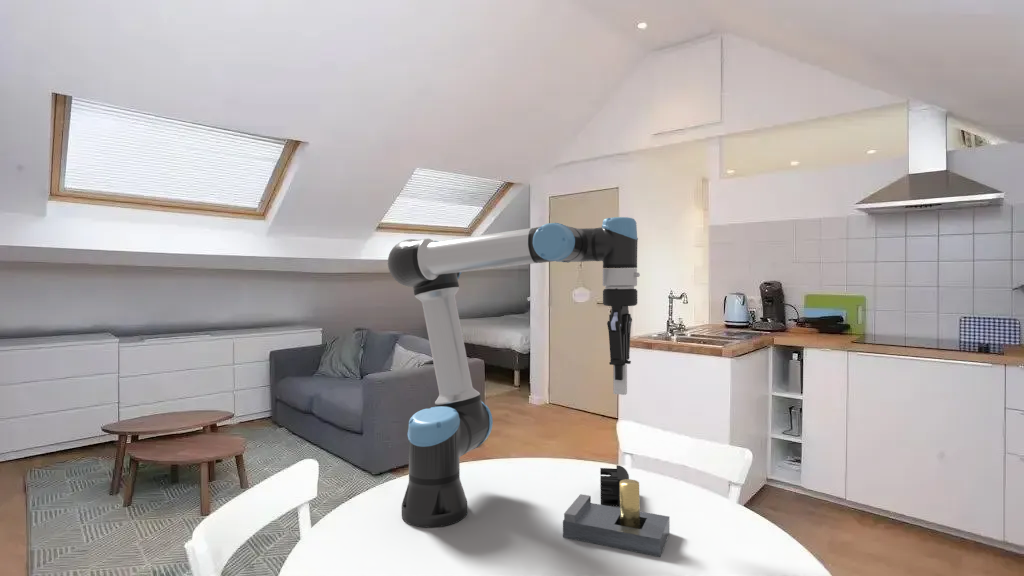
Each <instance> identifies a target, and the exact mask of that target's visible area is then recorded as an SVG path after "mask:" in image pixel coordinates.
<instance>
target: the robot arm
mask: <svg viewBox="0 0 1024 576" xmlns="http://www.w3.org/2000/svg"><path fill="white" fill-rule="evenodd" d="M637 226H638V225H637V222H636V220H635V219H634V218H633V217H628V216H627V217H626V216H625V217H624V216H617V217H607V218H604V219H603V220H602V224H601V226H600V227H595V228H592V227H591V228H577V227H572V226H568V225H564V224H563V223H560V222H551V223H550V222H549V223H545V224H543V225H541V226H537V227H529V228H523V229H517V230H509V231H502V232H493V233H488V234H487V233H486V234H482V235H481V234H480V235H475V236H467V237H460V238H453V239H446V240H433V239H431V238H422V239H416V238H415V239H411V238H410V239H403V240H401V241H400V242H398V243H397V244H395V245H394V246H393V247H392V249H391V251H390V252H389V254H388V258H387V267H388V268H387V269H388V271H389V273H390V275H391V277H392V278H393V279H394V281H396V282H397V283H398V284H401V286H402V285H403V286H405V287H410V288H411V287H412V289H413V294H414V298H416V299H417V300H418V301H420V302H421V304H422V305H421V306H422V308H423V309H422V310H423V316H424V321H425V324H426V331H427V335H428V340H429V341H428V342H429V346H430V351H431V356H432V363H433V367H434V373H435V377H436V382H437V383H436V384H437V388H438V393H439V394H438V397H437V399H436V400H435V401H434V405H435V406H432V407H430V408H423V409H421V410H418V411H417V412H415V413H414V414H413V415H412V416H411V417H410V418H409V420H408V428H407V440H408V441H407V442H408V446H407V447H408V449H407V450H408V483H407V487H406V490H405V493H404V497H403V500H402V503H401V518H402V520H403V521H404V523H405V522H406V523H407V524H409V525H412V526H415V527H421V528H440V527H444V526H445V527H446V526H449V525H452V524H454V523H457V522H459V521H461V520H463V519H464V518H465V517H466V516H467V514H468V499H467V496H466V493H465V491H464V487H463V485H462V481H461V477H460V476H461V474H460V472H461V471H460V467H461V466H460V457H462V456H463V455H465V454H467V453H469V452H471V451H473V450H474V449H476V448H478V447H480V446H481V445H482V444H483V443H484V442H485V441H486V440H487V439H488V438H489V437H490V434H491V433H492V429H493V425H494V423H493V414H492V412H491V410H490V408H489V406H488V405H486V404H485V403H484V402H483V401H482V398H481V393H480V392H479V391H478V390H476V389H475V388H474V387H473V382H472V376H471V372H470V368H469V363H468V362H469V361H468V358H467V357H468V356H467V350H466V346H465V342H464V337H463V330H462V327H461V326H462V325H461V321H460V316H459V311H458V305H457V300H456V294H457V293H458V292H459V290H460V284H459V279H460V276H461V274H462V273H463V272H473V271H474V272H475V271H483V270H491V269H499V268H506V267H507V268H508V267H514V266H523V265H532V264H542V263H551V262H559V263H560V262H561V263H571V262H572V263H576V262H577V263H578V262H579V263H580V262H602V286H603V287H605V288H604V289H603V290H602V305H603V306H608V307H611V310H610V311H611V312H610V314H609V316H608V318H609V319H608V320H607V323H606V325H607V329H608V338H609V339H608V340H609V341H608V342H609V356H610V357H609V358H610V360H609V361H610V362H609V365H611V366H613V368H612V369H613V372H612V373H613V375H612V378H613V381H612V382H613V393H612V394H613V395H622V396H625V395H627V394H628V365H631V363H632V361H631V360H630V357H631V356H630V351H631V349H630V348H631V332H632V331H631V329H632V322H633V319H632V315H631V313H630V312H629V307H634V306H637V305H638V290H637V288H635V287H637V286H638V278H639V277H640V276H641V275H640V272H638V240H639V237H638V229H637V228H638V227H637Z"/></svg>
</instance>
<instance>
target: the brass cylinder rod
mask: <svg viewBox="0 0 1024 576" xmlns="http://www.w3.org/2000/svg"><path fill="white" fill-rule="evenodd" d="M640 501H641V500H640V482H639V481H638V480H635V479H631V478H629V479H625V480H621V481H620V506H619V508H620V523H621V526H626V527H631V528H637V529H640V512H641V510H640V509H641V507H640V504H641V503H640Z"/></svg>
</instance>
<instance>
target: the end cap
mask: <svg viewBox="0 0 1024 576" xmlns="http://www.w3.org/2000/svg"><path fill="white" fill-rule="evenodd" d="M629 475H630V474H629V473H628V470H627V469H626V468H625V467H623V466H621V465H617V464H616V468H608V467H605V468H604V467H600V475H599V476H600V479H599V481H600V484H599V485H600V505H606V506H611V507H620V481H621V480H625V479H630V476H629Z"/></svg>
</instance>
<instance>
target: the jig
mask: <svg viewBox="0 0 1024 576" xmlns="http://www.w3.org/2000/svg"><path fill="white" fill-rule="evenodd" d="M591 500H592V498H591V495H586V494H582V493H581V494H578V496H577V498H576V499H575V500H573V503H572V504H570V505H569V507H568V508H567V509H566V511H565V512H564V513H563V515H564V516H563V517H564V518H563V520H562V538H564V539H570V540H575V541H580V542H585V543H590V544H595V545H600V546H604V547H610V548H614V549H619V550H624V551H629V552H634V553H639V554H642V555H647V556H648V555H650V556H654V557H658V558H661V556H662V553H663V551H664V548H665V546H666V543H667V541H668V538H669V535H670V516H669V515H662V514H657V513H650V512H644V511H640V529H637V528H631V527H626V526H621V523H620V507H618V506H606V505H601V503H600V504H599V503H592V502H591Z"/></svg>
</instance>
